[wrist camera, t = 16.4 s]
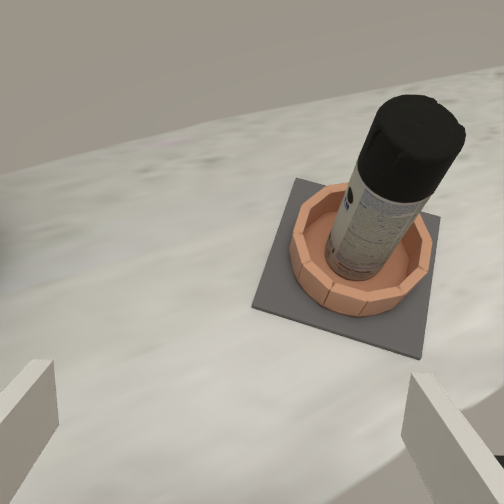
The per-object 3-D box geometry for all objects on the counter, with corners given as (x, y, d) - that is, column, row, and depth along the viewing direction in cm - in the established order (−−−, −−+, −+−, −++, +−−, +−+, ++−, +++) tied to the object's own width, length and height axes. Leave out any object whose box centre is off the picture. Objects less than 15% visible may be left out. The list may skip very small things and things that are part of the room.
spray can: (360, 221, 51) (425, 79, 33) (396, 267, 48) (488, 139, 31) (312, 244, 49) (354, 108, 32) (347, 293, 46) (413, 174, 29)
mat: (251, 307, 47) (251, 305, 46) (295, 180, 55) (296, 177, 55) (419, 360, 45) (421, 358, 44) (438, 219, 53) (440, 216, 52)
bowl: (275, 294, 47) (278, 275, 43) (307, 194, 54) (313, 168, 49) (404, 334, 45) (421, 318, 41) (421, 225, 52) (438, 202, 48)
